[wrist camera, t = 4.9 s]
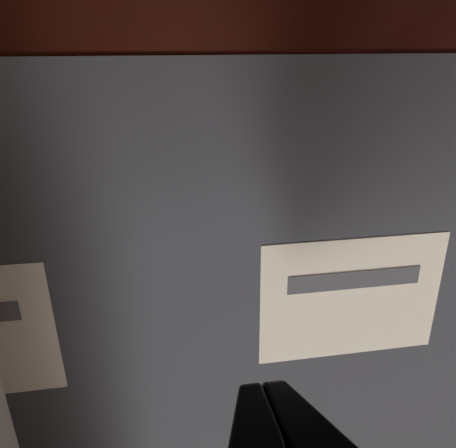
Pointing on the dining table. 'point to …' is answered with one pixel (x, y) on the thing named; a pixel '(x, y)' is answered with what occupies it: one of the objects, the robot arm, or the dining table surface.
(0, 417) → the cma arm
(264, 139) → the label mat
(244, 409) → the robot arm
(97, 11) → the dining table surface
